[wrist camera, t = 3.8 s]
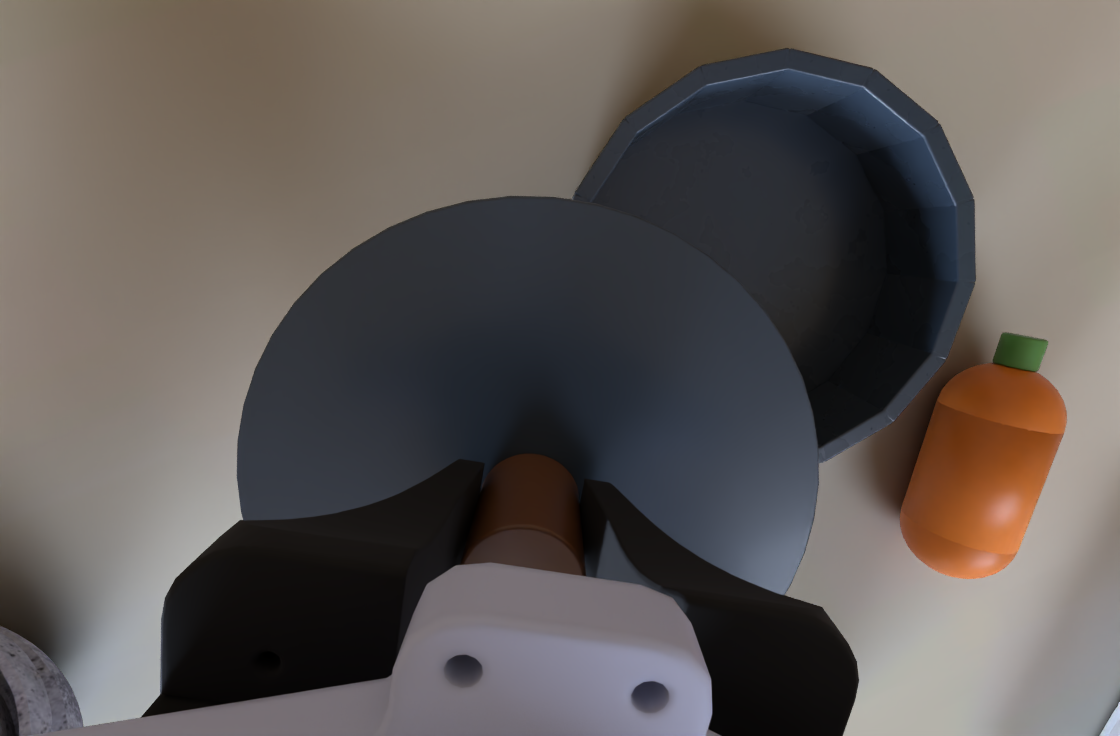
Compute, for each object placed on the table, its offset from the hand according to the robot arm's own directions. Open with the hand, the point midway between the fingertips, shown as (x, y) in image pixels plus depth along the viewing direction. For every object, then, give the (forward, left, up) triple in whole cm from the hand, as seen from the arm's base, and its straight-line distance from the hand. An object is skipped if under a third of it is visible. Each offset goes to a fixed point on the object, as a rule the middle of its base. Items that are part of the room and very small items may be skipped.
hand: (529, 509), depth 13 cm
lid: (0, 0, -1) cm, 1 cm away
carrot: (0, -17, -10) cm, 20 cm away
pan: (+6, -6, -10) cm, 14 cm away
